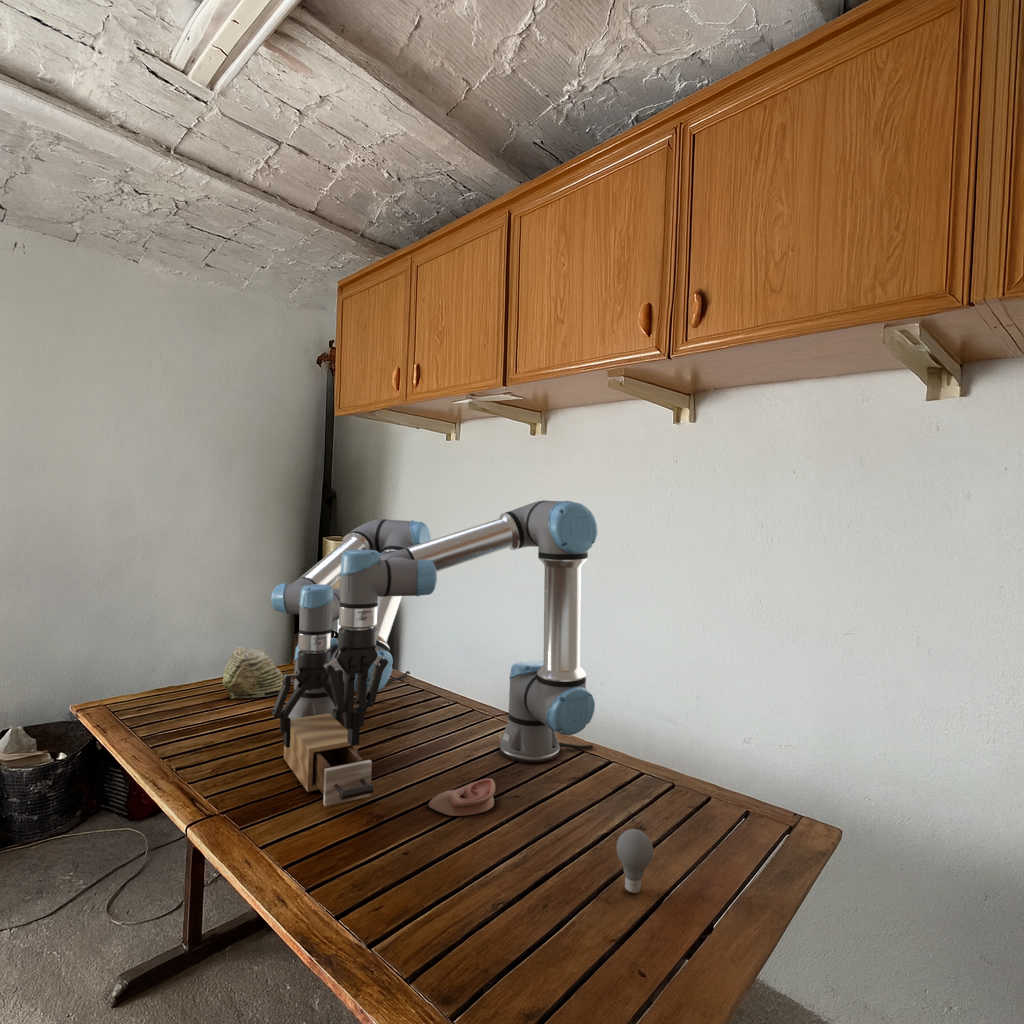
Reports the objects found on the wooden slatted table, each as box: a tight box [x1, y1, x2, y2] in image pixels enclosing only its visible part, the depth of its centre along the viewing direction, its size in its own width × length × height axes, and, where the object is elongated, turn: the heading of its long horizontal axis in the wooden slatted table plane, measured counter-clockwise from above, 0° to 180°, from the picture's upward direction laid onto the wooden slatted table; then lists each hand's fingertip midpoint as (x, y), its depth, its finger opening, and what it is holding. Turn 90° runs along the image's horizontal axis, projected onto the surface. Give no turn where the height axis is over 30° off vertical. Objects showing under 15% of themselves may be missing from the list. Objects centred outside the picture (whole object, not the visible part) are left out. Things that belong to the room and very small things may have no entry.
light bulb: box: [615, 828, 654, 894], centre depth 106 cm, size 6×6×10 cm
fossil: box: [222, 646, 284, 699], centre depth 198 cm, size 9×18×15 cm, turn 132°
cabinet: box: [283, 713, 359, 793], centre depth 146 cm, size 20×11×9 cm, turn 33°
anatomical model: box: [427, 778, 496, 817], centre depth 133 cm, size 13×4×12 cm
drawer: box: [313, 746, 375, 807], centre depth 135 cm, size 24×10×7 cm, turn 33°
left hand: (311, 741), depth 152 cm, fingers closed on cabinet, 11 cm apart
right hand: (353, 742), depth 128 cm, fingers closed
